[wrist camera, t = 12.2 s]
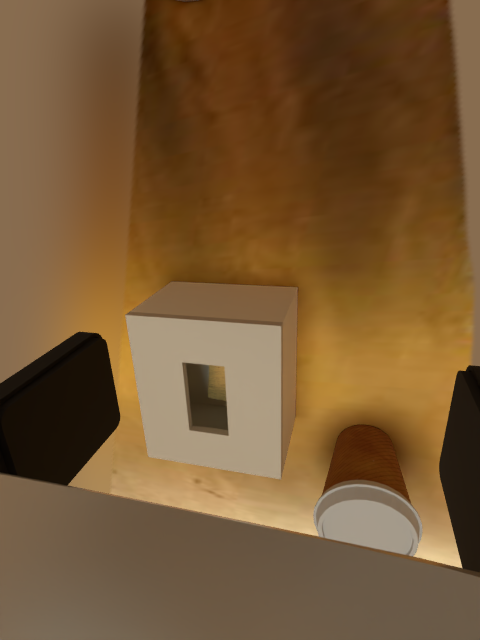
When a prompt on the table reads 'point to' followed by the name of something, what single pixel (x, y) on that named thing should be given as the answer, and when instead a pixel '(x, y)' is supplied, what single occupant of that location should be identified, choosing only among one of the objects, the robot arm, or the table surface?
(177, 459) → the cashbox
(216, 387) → the wooden block
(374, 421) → the table surface
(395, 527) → the disposable coffee cup
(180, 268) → the table surface
